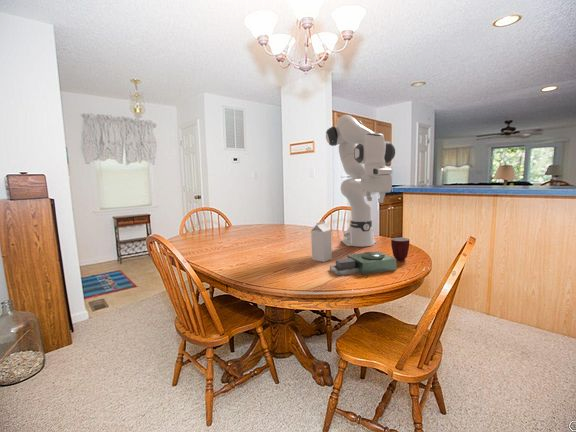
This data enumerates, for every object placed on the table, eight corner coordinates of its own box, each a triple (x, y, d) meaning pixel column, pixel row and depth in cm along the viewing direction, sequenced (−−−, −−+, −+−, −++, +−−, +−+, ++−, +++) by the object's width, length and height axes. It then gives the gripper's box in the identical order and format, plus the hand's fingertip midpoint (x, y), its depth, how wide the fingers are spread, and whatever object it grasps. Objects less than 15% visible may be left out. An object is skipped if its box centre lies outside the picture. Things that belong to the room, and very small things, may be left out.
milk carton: (331, 258, 151) (330, 221, 149) (324, 262, 146) (323, 223, 143) (319, 256, 156) (318, 220, 153) (312, 260, 150) (310, 222, 148)
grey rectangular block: (335, 270, 133) (335, 259, 132) (350, 268, 135) (349, 258, 134) (340, 274, 128) (340, 262, 128) (355, 272, 130) (355, 261, 129)
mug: (411, 264, 137) (411, 242, 136) (392, 263, 139) (392, 242, 138) (407, 257, 147) (408, 237, 146) (390, 257, 149) (390, 237, 148)
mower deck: (327, 268, 137) (327, 255, 136) (378, 261, 143) (378, 249, 143) (340, 278, 123) (340, 264, 123) (396, 269, 130) (396, 256, 129)
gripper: (356, 171, 142) (357, 200, 144) (381, 170, 122) (381, 204, 124) (368, 170, 143) (369, 199, 145) (394, 169, 124) (394, 203, 126)
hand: (374, 201), depth 135 cm, fingers open, 8 cm apart
